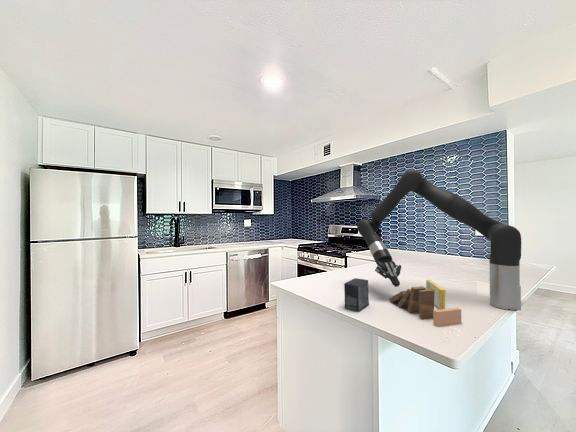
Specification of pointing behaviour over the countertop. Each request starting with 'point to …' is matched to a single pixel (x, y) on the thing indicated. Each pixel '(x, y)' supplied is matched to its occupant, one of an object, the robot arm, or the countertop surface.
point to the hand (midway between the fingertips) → (397, 285)
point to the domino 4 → (426, 304)
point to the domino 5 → (446, 317)
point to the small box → (356, 294)
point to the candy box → (437, 294)
